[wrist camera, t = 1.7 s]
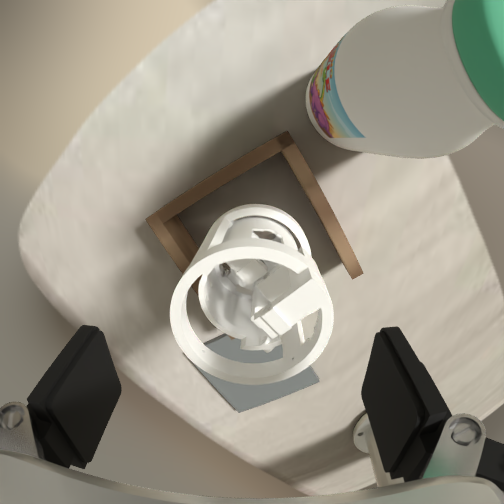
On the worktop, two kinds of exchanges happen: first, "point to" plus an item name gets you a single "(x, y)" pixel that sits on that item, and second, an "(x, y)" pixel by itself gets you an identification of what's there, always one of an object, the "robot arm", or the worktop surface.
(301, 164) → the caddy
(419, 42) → the milk bottle
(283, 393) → the trivet
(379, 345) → the robot arm
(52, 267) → the worktop surface
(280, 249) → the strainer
